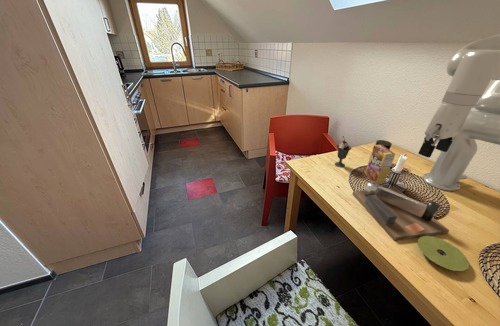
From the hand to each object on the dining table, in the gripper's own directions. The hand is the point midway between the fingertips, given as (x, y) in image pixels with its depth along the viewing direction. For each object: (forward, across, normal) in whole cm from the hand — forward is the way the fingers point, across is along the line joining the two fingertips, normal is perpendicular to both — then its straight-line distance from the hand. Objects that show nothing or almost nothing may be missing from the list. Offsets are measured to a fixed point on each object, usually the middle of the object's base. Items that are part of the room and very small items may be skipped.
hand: (432, 152), depth 66 cm
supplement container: (+22, -22, -28) cm, 41 cm away
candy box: (+22, -5, -17) cm, 29 cm away
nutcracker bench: (+23, +7, 0) cm, 24 cm away
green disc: (+23, +13, +18) cm, 32 cm away
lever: (+20, +7, -1) cm, 21 cm away
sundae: (+22, 0, -33) cm, 40 cm away
